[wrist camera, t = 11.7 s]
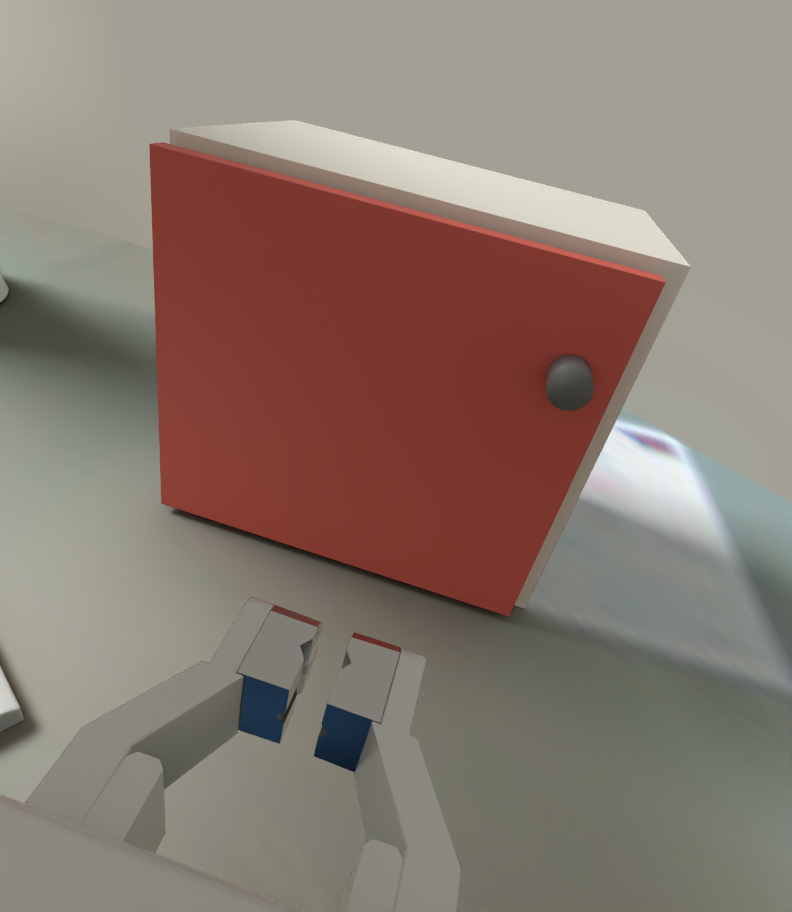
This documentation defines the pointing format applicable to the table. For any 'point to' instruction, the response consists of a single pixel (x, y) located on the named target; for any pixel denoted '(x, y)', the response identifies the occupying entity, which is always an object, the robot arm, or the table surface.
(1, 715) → the external hard drive
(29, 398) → the table surface
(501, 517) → the door
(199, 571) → the table surface
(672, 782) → the table surface
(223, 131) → the cabinet
